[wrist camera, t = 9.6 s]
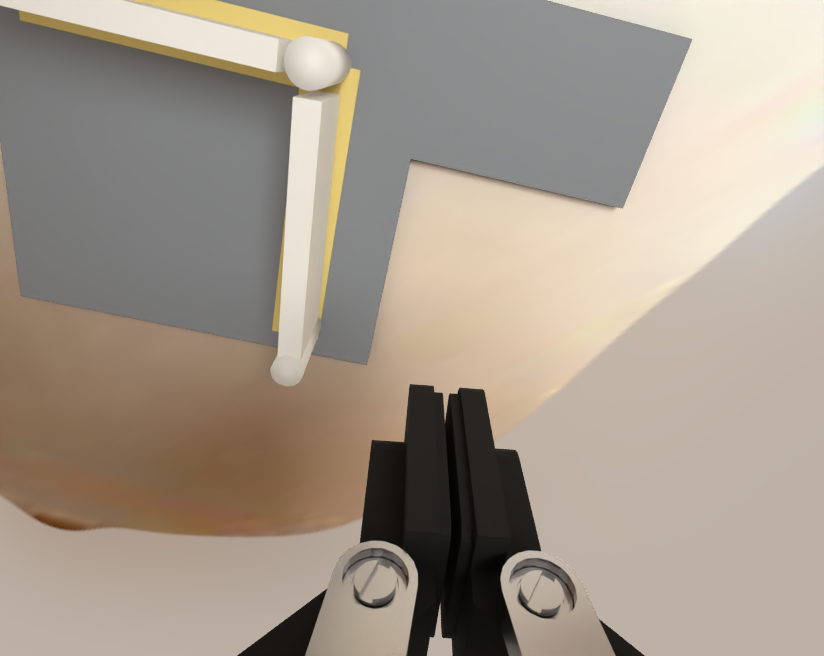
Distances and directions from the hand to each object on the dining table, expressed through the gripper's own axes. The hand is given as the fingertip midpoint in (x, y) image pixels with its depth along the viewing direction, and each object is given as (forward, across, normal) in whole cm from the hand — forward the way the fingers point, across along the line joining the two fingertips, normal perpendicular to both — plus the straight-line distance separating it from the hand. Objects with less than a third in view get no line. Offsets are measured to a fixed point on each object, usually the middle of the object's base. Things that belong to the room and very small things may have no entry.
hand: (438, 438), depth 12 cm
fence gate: (+14, +5, 0) cm, 15 cm away
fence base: (+15, +5, -2) cm, 16 cm away
